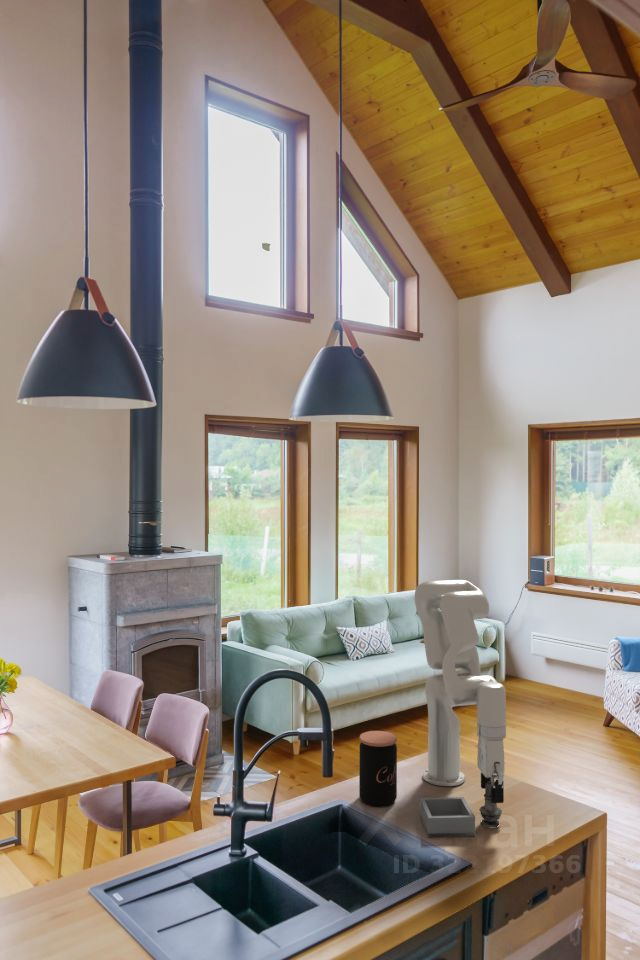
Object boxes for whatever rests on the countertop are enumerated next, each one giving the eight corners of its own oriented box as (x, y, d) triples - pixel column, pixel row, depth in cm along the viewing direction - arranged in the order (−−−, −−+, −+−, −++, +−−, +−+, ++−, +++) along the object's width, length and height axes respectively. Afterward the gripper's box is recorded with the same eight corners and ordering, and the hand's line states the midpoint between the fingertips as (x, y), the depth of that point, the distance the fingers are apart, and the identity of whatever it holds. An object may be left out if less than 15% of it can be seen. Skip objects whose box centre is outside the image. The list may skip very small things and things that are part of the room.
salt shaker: (502, 829, 200) (502, 784, 200) (479, 827, 201) (479, 782, 201) (501, 819, 206) (501, 775, 206) (479, 817, 207) (479, 773, 207)
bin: (419, 816, 208) (420, 798, 208) (463, 815, 208) (463, 797, 208) (428, 837, 196) (428, 818, 196) (475, 836, 196) (475, 817, 196)
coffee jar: (378, 811, 211) (378, 746, 210) (351, 799, 219) (351, 736, 218) (404, 800, 218) (404, 737, 217) (377, 788, 226) (377, 728, 225)
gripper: (469, 720, 212) (469, 783, 211) (486, 741, 194) (486, 809, 194) (496, 720, 212) (496, 782, 212) (515, 740, 195) (516, 808, 195)
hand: (491, 795), depth 203 cm, fingers open, 9 cm apart
